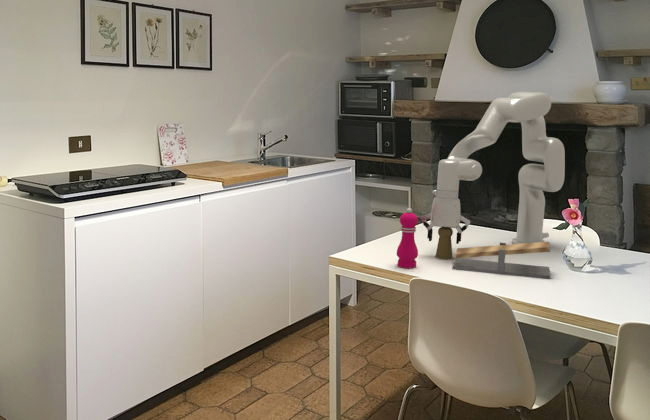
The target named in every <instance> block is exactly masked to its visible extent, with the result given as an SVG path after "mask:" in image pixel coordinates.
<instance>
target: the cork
mask: <svg viewBox="0 0 650 420" xmlns="http://www.w3.org/2000/svg"><path fill="white" fill-rule="evenodd" d="M437 234H438V236H439V237H438V241H437V247H436V251H435V258H436V259H438V260H451V259H453V247H452V246H453V245H452V236H453V234H454V231H453V228H448V227H439V228H438V229H437Z"/></svg>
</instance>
